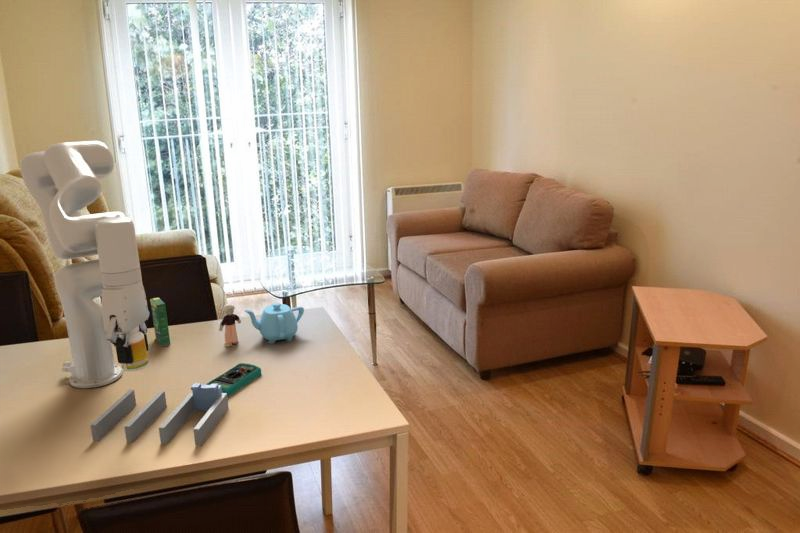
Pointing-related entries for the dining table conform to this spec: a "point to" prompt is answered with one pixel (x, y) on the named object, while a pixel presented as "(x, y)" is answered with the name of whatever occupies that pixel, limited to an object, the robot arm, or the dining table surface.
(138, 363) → the supplement bottle
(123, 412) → the grey parallel walls
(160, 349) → the dining table surface
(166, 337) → the coffee box
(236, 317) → the grandmother figurine
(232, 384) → the digital multimeter
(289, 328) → the teapot
